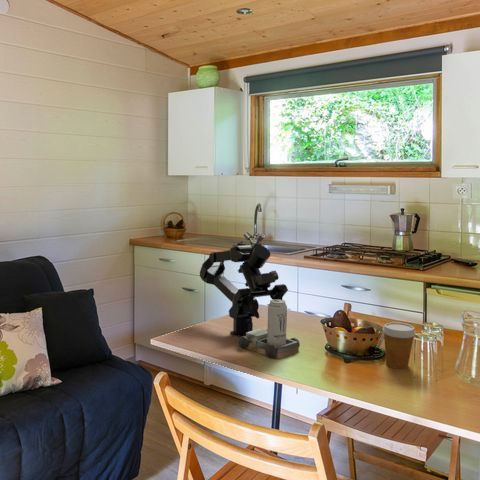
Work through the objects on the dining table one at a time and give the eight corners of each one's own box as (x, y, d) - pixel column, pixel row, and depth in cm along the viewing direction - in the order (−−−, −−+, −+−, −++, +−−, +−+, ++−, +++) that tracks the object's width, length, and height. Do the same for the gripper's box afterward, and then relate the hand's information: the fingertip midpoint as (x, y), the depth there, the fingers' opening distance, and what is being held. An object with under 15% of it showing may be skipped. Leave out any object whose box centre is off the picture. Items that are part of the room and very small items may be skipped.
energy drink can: (277, 351, 167) (278, 304, 165) (263, 346, 172) (264, 300, 170) (289, 347, 171) (291, 301, 169) (275, 342, 176) (277, 297, 174)
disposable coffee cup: (419, 370, 157) (421, 330, 156) (388, 371, 156) (391, 331, 154) (404, 358, 167) (406, 321, 165) (375, 360, 165) (377, 322, 164)
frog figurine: (388, 350, 175) (390, 329, 174) (369, 351, 173) (370, 330, 172) (380, 344, 180) (381, 324, 180) (361, 345, 179) (362, 325, 178)
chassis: (236, 346, 176) (237, 333, 175) (262, 338, 184) (262, 325, 184) (275, 359, 164) (275, 345, 163) (300, 350, 172) (301, 337, 172)
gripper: (238, 264, 171) (256, 306, 163) (285, 260, 181) (304, 299, 173) (225, 284, 179) (242, 324, 171) (272, 279, 188) (289, 317, 181)
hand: (270, 316), depth 174 cm, fingers open, 9 cm apart
